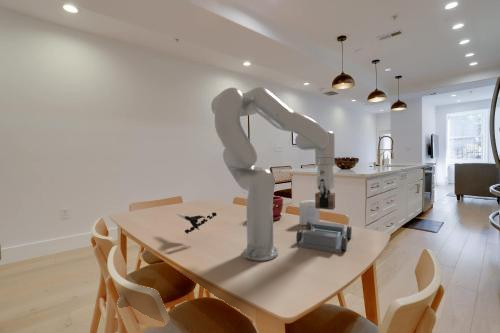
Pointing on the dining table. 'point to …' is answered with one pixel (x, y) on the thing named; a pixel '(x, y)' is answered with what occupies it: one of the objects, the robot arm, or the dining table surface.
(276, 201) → the plant pot
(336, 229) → the chassis
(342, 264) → the dining table surface
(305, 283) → the dining table surface
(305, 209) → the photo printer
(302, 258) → the dining table surface
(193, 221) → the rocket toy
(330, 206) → the brown cardboard carton
